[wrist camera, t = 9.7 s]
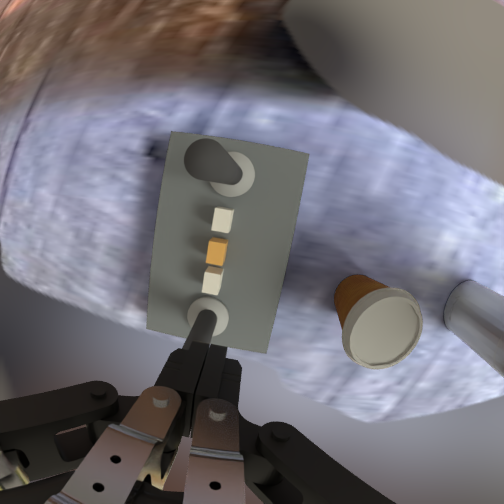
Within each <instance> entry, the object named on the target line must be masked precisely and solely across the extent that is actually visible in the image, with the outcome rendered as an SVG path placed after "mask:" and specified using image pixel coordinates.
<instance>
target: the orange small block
mask: <svg viewBox="0 0 504 504" xmlns="http://www.w3.org/2000/svg"><path fill="white" fill-rule="evenodd" d="M227 246H228V240H226V239H221V238H215V237H212V238H211V240H210V241H209V245H208V251H207V258H206V263H209V264H214V265H220V266H222V265H223V263H224V261H225V257H226V251H227Z"/></svg>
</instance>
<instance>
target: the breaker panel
mask: <svg viewBox="0 0 504 504" xmlns="http://www.w3.org/2000/svg"><path fill="white" fill-rule="evenodd" d="M203 138H209V139H213V140H215V141H217V142H218V143H220V144H221V145H222V147H223V148H224V149H225V150H226V151H227V152H239V153H241V154H243V155H245V156H246V157H247V158H248V159H249V160H250V161H251V162H252V164H253V167H254V171H255V178H254V182H253V184H252V186H251V188H250V189H249V190H248V191H247V192H245V193H244V194H242V195H240V196H236V197H227V196H223V195H221V194H219V193H218V192H217V191H215V190H214V188H213V187H212V185H211V183H210V182H209V181H203V180H198V179H195V178H194V177H192V176H191V175H190V174H189V173H188V172H187V170H186V168H185V165H184V155H185V152H186V150H187V148H188V147H189V146H190V145H191V144H192V143H193V142H195V141H196V140H199V139H203ZM308 159H309V154H307V153H303V152H298V151H294V150H289V149H284V148H279V147H274V146H269V145H264V144H258V143H252V142H247V141H241V140H234V139H228V138H221V137H214V136H207V135H199V134H191V133H182V132H173V131H171V135H170V140H169V145H168V150H167V156H166V161H165V166H164V172H163V178H162V184H161V190H160V196H159V203H158V210H157V217H156V225H155V232H154V241H153V250H152V259H151V269H150V281H149V293H148V308H147V327H146V329H149V330H153V331H157V332H161V333H165V334H169V335H173V336H178V337H182V338H187V337H188V335H189V333H190V331H191V329H192V328H191V326H190V325H189V323H188V319H187V313H188V310H189V308H190V306H191V304H192V303H193V302H194V301H195V300H196V299H198V298H200V297H203V296H211V297H215V298H217V299H219V300H221V301H222V302H223V303H224V304H225V306H226V307H227V309H228V312H229V320H228V324H227V327H226V329H225V330H224V331H223V332H222V333H220V334H219V335H216V336H212V339H211V342H210V344H215V345H220V346H226V347H230V348H236V349H241V350H247V351H253V352H259V353H265V354H266V352H267V348H268V344H269V340H270V336H271V332H272V328H273V324H274V320H275V315H276V311H277V307H278V303H279V298H280V294H281V290H282V285H283V281H284V276H285V272H286V267H287V263H288V258H289V253H290V249H291V244H292V239H293V235H294V230H295V225H296V220H297V215H298V210H299V205H300V200H301V195H302V190H303V185H304V180H305V175H306V169H307V164H308ZM212 237H215V238H221V239H226V240H228V246H227V251H226V257H225V261H224V263H223V265H222V266H220V265H214V264H209V263H206V258H207V251H208V245H209V241H210V240H211V238H212Z"/></svg>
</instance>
